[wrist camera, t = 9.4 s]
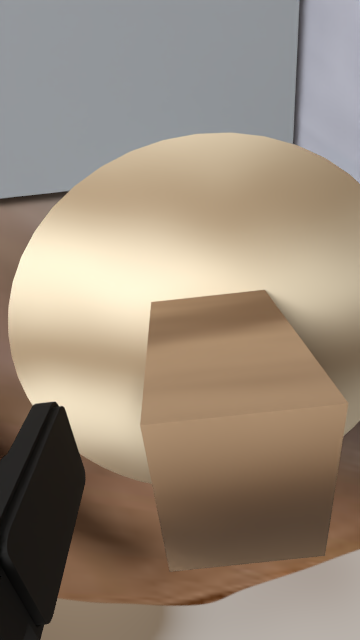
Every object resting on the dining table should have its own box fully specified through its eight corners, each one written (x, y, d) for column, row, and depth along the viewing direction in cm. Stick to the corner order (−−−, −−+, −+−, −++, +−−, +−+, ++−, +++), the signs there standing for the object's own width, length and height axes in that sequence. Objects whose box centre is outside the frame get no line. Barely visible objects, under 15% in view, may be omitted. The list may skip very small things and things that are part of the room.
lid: (-41, 162, 11) (-349, 175, 4) (430, 109, 11) (841, 40, 4) (72, 481, 17) (18, 675, 11) (363, 451, 17) (481, 628, 11)
